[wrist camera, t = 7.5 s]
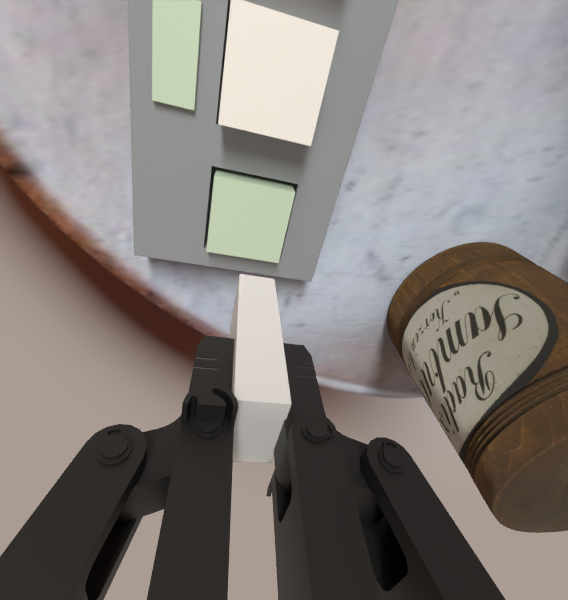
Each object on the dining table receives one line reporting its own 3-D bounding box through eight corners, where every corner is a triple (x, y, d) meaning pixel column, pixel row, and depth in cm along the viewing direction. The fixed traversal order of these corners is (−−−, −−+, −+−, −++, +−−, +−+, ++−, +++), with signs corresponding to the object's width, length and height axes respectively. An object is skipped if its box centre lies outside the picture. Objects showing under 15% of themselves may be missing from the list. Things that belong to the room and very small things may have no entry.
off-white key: (233, 9, 18) (231, -4, 15) (326, 38, 19) (339, 30, 16) (221, 119, 20) (218, 124, 18) (303, 139, 22) (310, 146, 19)
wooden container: (413, 234, 29) (693, 484, 11) (555, 247, 31) (988, 472, 13) (369, 356, 37) (488, 618, 19) (485, 359, 39) (692, 597, 21)
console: (141, -341, 13) (113, -455, 11) (437, -193, 16) (478, -252, 13) (144, 239, 27) (132, 257, 24) (305, 265, 30) (311, 284, 27)
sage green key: (217, 165, 23) (214, 175, 21) (290, 181, 24) (295, 192, 22) (210, 235, 26) (206, 251, 24) (275, 246, 27) (278, 263, 25)
